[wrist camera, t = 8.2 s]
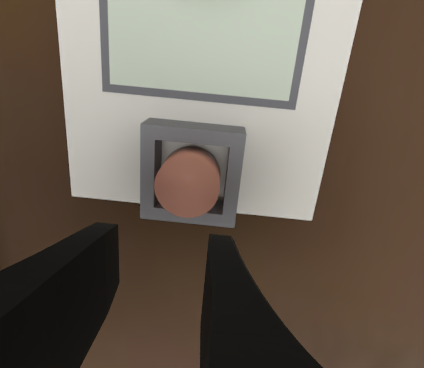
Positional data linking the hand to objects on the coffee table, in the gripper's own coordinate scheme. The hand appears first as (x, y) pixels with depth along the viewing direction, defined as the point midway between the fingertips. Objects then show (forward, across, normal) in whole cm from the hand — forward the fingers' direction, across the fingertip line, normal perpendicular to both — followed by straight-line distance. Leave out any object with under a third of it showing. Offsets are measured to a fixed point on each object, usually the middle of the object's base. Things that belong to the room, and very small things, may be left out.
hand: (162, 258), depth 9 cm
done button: (+8, 0, 0) cm, 8 cm away
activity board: (+9, 0, -6) cm, 11 cm away
